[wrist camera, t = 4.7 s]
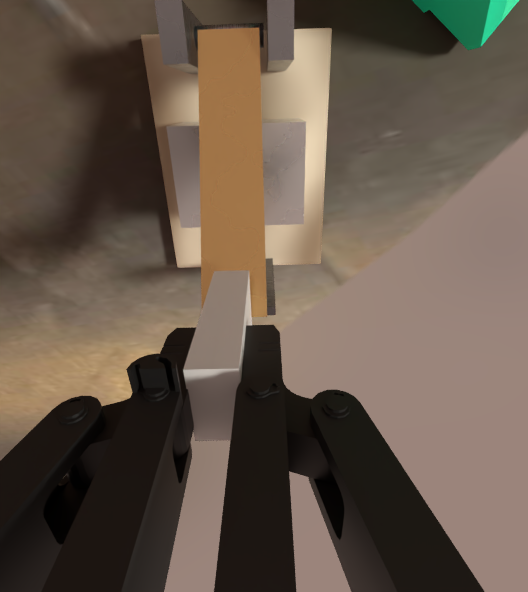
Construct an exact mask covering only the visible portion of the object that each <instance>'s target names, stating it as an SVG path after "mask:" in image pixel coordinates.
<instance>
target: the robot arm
mask: <svg viewBox="0 0 528 592" xmlns="http://www.w3.org/2000/svg"><path fill="white" fill-rule="evenodd" d="M127 373H128V377H129V380H130V384H131V388H132V392H133V393H132V396H131V398H129V399H127V400H124V401H121V402H117V403H114V404H110V405H106V406H101V403H100V402H99V400H98V399H97V398H94V397H92V396H79V397H75V398H71V399H69V400H67V401H64V402H62V403H61V404H59V405H58V406H57V407H55V408H54V409H53V410H52V411H51V412H50V413H49V414H48V415H47V416H46V417H45V418H44V419H43V420H42V421H40V422H39V423H38V424H37V425H36V426H35V427H34V428H33V429H32V430H31V431H30V432H29V433H28V434H27V435H26V436H25V437H24V438H23V439H22V440H21V441H20V442H19V443H18V444H17V445H16V446H15V447H14V448H13V449H12V450H11V451H10V452H9V453H8V454H7V455H6V456H5V457H4V458H3V459H2V460H1V461H0V592H164V589H165V583H166V579H167V574H168V570H169V565H170V560H171V555H172V550H173V545H174V541H175V535H176V531H177V526H178V521H179V517H180V512H181V507H182V502H183V497H184V493H185V488H186V483H187V478H188V473H189V468H190V464H191V459H192V449H191V443H190V441H191V437H192V432H193V431H194V437H195V441H214V440H216V441H218V440H231V443H230V451H229V460H228V469H227V479H226V488H225V497H224V506H223V515H222V525H221V534H220V542H219V552H218V561H217V570H216V580H215V588H214V592H296V581H295V563H294V546H293V530H292V513H291V496H290V480H289V471H290V472H294V473H297V474H300V475H304V476H307V477H309V481H310V484H311V487H312V489H313V492H314V495H315V497H316V500H317V502H318V505H319V508H320V510H321V513H322V515H323V518H324V521H325V523H326V526H327V529H328V531H329V534H330V536H331V539H332V542H333V544H334V547H335V549H336V552H337V555H338V558H339V560H340V563H341V565H342V568H343V571H344V573H345V576H346V578H347V581H348V584H349V586H350V589H351V591H352V592H484V590H483V589H482V587H481V586H480V584H479V583H478V581H477V580H476V578H475V577H474V575H473V573H472V572H471V570H470V569H469V567H468V566H467V564H466V563H465V561H464V560H463V558H462V557H461V555H460V554H459V552H458V551H457V549H456V548H455V546H454V545H453V543H452V542H451V540H450V538H449V537H448V536H447V534H446V533H445V531H444V529H443V528H442V526H441V525H440V523H439V522H438V520H437V519H436V517H435V516H434V514H433V513H432V511H431V510H430V508H429V507H428V505H427V504H426V502H425V500H424V499H423V497H422V496H421V494H420V493H419V491H418V490H417V489H416V487H415V485H414V484H413V482H412V481H411V479H410V478H409V476H408V475H407V473H406V472H405V470H404V469H403V467H402V465H401V464H400V463H399V461H398V459H397V458H396V456H395V455H394V453H393V452H392V450H391V449H390V447H389V446H388V444H387V443H386V441H385V440H384V438H383V437H382V435H381V434H380V432H379V431H378V429H377V428H376V426H375V424H374V423H373V421H372V420H371V418H370V417H369V415H368V414H367V412H366V411H365V409H364V408H363V406H362V405H361V403H360V402H359V401H358V400H357V399H356V398H355V397H354V396H352V395H351V394H349V393H347V392H344V391H340V390H326V391H323V392H320V393H318V394H317V395H316V396H315V397H314V398H313V399H309V398H305V397H301V396H298V395H296V394H294V393H292V392H291V391H290V390H288V389H287V388H286V386H285V385H284V383H283V379H282V363H281V347H280V333H279V331H278V330H277V329H276V328H275V326H274V325H252V316H251V297H250V279H249V270H240V271H214V273H213V276H212V280H211V283H210V286H209V289H208V292H207V295H206V299H205V302H204V305H203V308H202V311H201V315H200V318H199V321H198V324H197V327H196V328H176V329H175V330H174V331H173V332H172V333H170V334H169V335H168V336H167V339H166V341H165V343H164V347H163V348H162V350H161V352H160V354H152V355H147V356H144V357H141V358H139V359H137V360H136V361H134V362H133V363H131V365H130V366H129V367H128V368H127ZM65 475H66V476H65ZM64 476H65V477H64ZM63 477H64V478H63Z"/></svg>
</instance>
